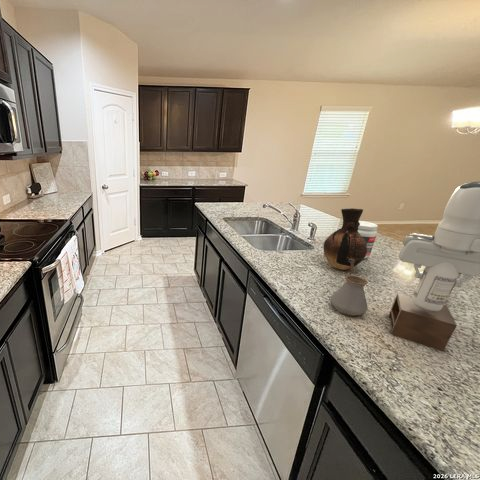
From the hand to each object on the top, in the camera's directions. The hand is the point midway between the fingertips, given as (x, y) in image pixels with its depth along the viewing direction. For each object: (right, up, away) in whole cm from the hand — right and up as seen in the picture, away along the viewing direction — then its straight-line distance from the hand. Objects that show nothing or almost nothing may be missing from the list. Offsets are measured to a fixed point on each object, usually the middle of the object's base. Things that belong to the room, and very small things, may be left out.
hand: (436, 281), depth 77 cm
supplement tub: (+25, +4, +64) cm, 69 cm away
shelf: (0, -18, +7) cm, 19 cm away
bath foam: (0, -8, +3) cm, 9 cm away
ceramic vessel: (+7, -1, +51) cm, 52 cm away
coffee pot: (-12, -12, +22) cm, 28 cm away
